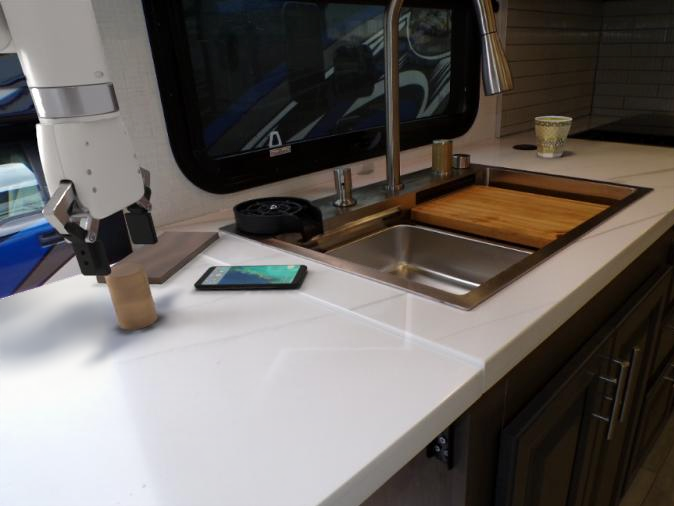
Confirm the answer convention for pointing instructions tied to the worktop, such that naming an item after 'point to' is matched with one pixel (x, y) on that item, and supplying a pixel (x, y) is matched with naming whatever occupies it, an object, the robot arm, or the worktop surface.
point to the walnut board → (167, 254)
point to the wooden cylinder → (131, 296)
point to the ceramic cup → (551, 135)
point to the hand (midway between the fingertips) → (123, 258)
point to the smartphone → (252, 277)
